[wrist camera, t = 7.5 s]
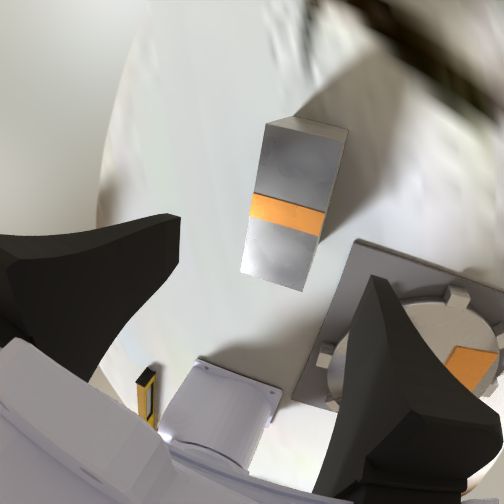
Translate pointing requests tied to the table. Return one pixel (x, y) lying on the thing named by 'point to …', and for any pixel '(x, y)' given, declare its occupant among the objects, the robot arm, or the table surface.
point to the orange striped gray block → (291, 199)
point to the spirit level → (146, 395)
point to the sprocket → (437, 343)
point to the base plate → (405, 286)
